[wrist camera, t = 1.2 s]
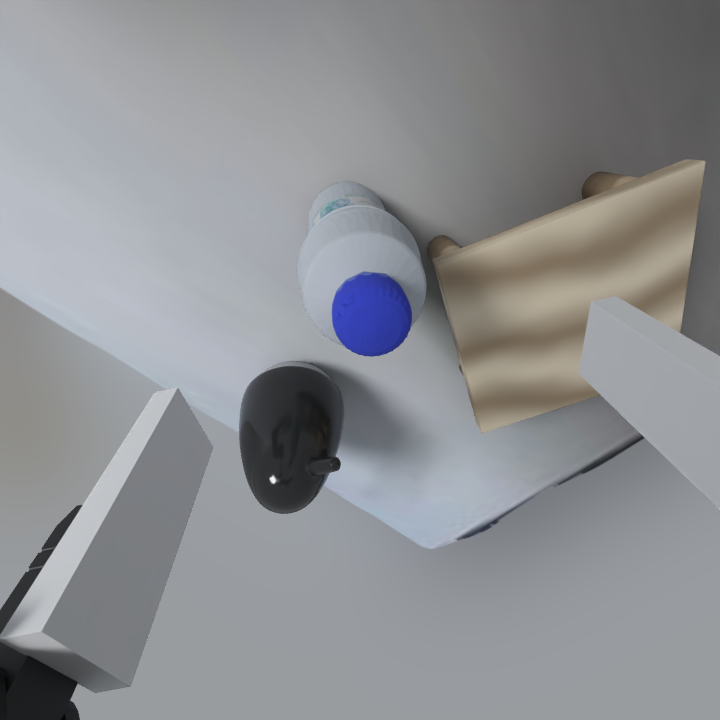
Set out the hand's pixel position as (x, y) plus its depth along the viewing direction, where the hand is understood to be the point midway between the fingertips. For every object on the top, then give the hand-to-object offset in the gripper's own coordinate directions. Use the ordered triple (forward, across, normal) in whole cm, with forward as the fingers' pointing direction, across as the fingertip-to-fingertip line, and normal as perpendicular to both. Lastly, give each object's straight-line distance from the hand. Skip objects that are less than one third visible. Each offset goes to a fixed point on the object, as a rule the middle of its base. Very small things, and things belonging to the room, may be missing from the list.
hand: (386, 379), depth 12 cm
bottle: (+23, 0, 0) cm, 23 cm away
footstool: (+23, +16, -10) cm, 30 cm away
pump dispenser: (+23, -9, -16) cm, 30 cm away
